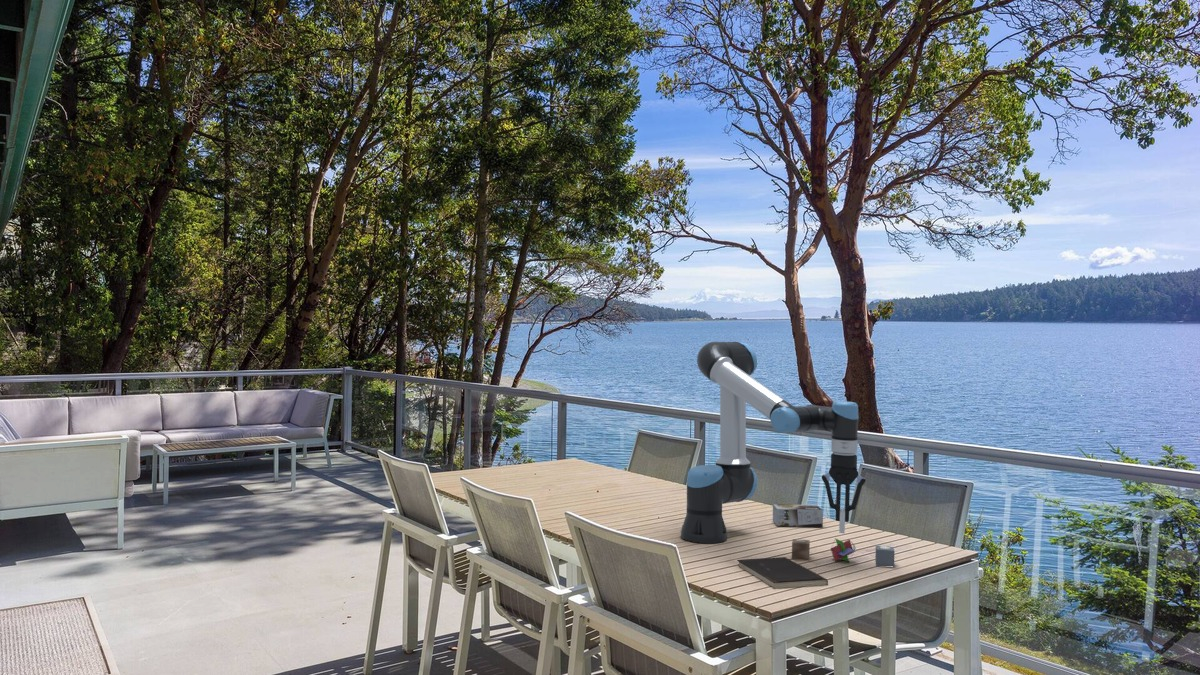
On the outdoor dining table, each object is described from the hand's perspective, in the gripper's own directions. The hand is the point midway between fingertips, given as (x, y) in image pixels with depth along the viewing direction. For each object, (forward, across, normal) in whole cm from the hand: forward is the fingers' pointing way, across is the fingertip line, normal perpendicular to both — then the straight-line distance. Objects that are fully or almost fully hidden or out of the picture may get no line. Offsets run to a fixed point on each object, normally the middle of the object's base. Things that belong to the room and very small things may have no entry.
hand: (841, 532), depth 253 cm
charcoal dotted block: (+9, +12, 0) cm, 15 cm away
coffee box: (+6, -23, +45) cm, 51 cm away
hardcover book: (+9, -16, -22) cm, 29 cm away
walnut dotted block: (+9, -12, 0) cm, 15 cm away
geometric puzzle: (+9, 0, 0) cm, 9 cm away
